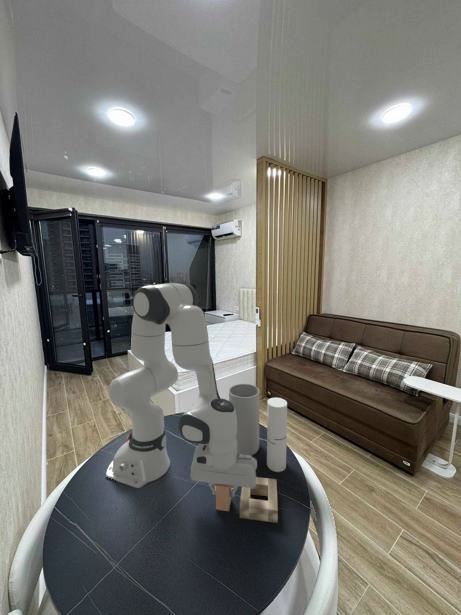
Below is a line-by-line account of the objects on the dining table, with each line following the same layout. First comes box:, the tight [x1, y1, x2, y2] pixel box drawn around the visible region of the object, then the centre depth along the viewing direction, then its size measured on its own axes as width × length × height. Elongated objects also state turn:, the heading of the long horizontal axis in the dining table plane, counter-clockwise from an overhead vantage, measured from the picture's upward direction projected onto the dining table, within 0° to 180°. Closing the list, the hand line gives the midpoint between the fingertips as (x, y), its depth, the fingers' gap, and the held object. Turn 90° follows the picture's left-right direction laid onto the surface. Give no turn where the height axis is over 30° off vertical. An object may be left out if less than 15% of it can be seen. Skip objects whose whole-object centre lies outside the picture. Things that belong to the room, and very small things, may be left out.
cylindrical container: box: [266, 397, 288, 473], centre depth 90 cm, size 7×7×25 cm
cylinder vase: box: [228, 383, 260, 456], centre depth 100 cm, size 12×12×25 cm
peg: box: [215, 484, 232, 512], centre depth 75 cm, size 4×4×8 cm
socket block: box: [239, 476, 279, 524], centre depth 76 cm, size 11×11×4 cm
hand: (223, 494), depth 75 cm, fingers closed on peg, 4 cm apart
